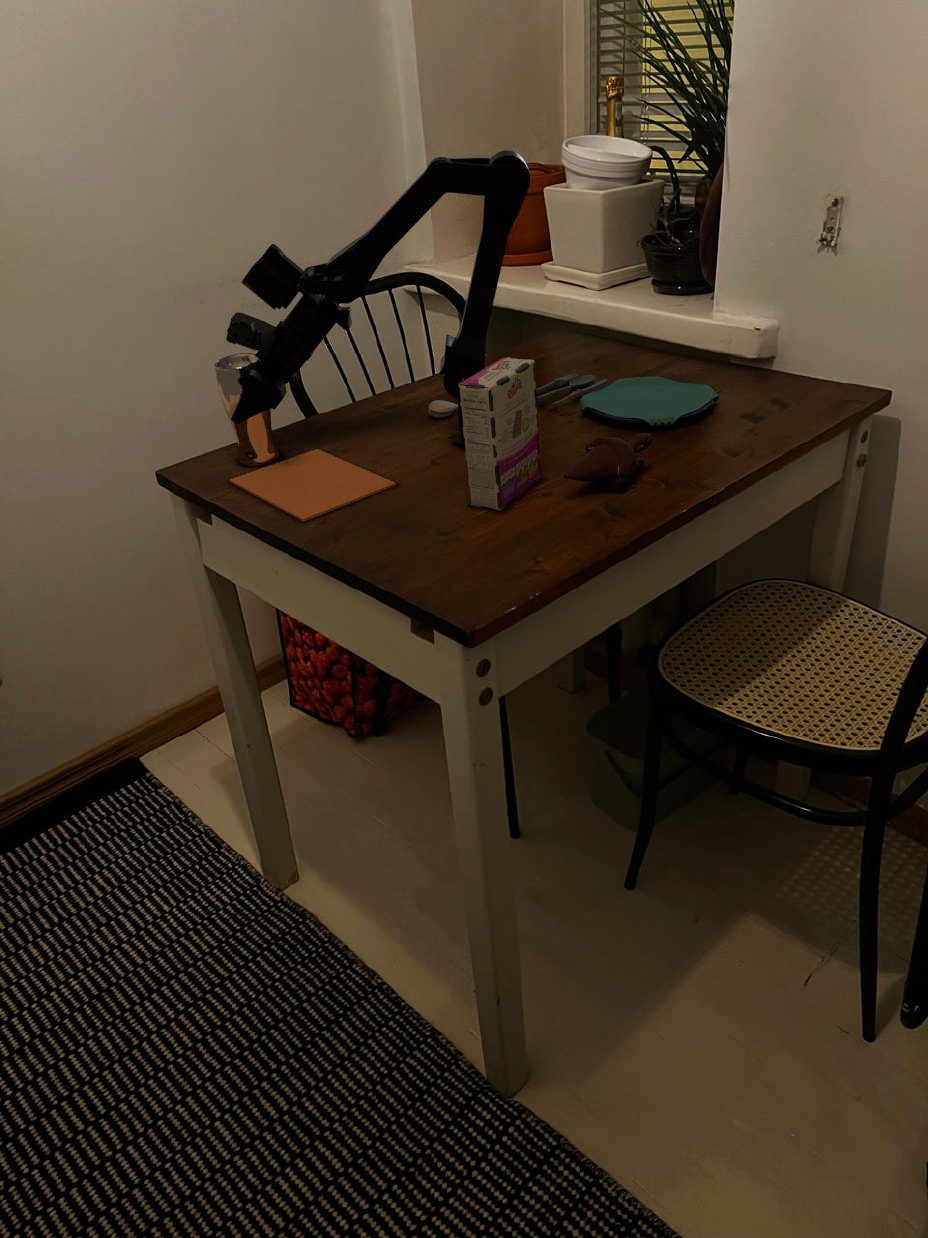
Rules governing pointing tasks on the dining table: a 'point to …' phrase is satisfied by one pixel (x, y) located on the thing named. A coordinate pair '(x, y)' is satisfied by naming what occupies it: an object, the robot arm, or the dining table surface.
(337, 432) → the dining table surface
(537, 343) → the dining table surface
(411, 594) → the dining table surface
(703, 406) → the cutlery set
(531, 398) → the candy bar box
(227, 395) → the beer glass
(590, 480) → the icecream
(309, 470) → the cloth
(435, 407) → the grey rounded piece
